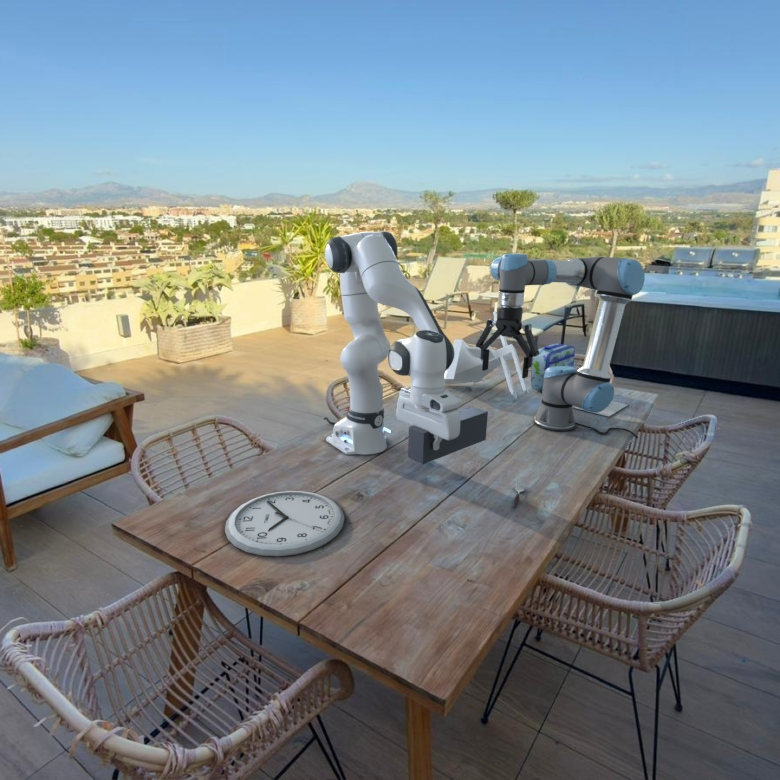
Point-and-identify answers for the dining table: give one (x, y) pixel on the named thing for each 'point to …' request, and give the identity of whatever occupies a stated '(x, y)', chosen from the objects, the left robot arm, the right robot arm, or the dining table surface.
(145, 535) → the dining table surface
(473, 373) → the white plastic object
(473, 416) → the bar
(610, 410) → the invitation card
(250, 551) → the wall clock
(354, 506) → the dining table surface
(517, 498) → the fork
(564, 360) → the lunch box
